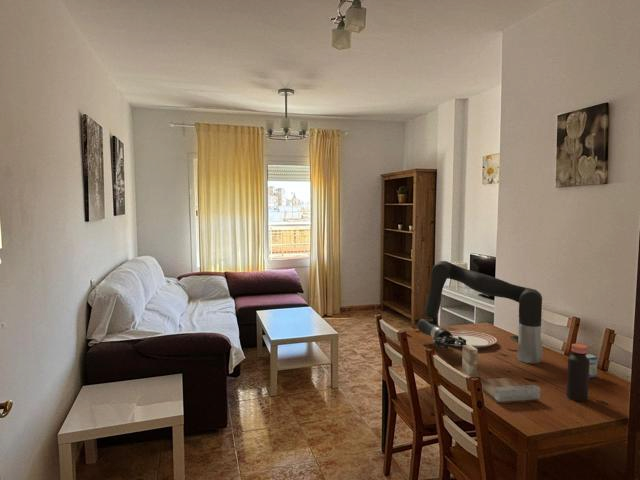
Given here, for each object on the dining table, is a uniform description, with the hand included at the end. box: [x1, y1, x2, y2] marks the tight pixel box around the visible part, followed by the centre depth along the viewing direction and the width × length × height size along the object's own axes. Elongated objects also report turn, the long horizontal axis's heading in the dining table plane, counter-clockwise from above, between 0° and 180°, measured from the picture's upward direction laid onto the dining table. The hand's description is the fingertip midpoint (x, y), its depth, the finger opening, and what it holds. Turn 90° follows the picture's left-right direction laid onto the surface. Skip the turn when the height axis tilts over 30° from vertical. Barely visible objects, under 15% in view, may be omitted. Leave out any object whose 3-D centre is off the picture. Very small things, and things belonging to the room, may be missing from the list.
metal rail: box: [494, 384, 541, 402], centre depth 149 cm, size 16×3×4 cm, turn 98°
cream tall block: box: [461, 345, 479, 379], centre depth 174 cm, size 4×6×12 cm, turn 8°
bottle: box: [565, 343, 590, 403], centre depth 152 cm, size 7×7×20 cm
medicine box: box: [586, 353, 598, 379], centre depth 173 cm, size 8×4×9 cm, turn 106°
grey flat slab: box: [480, 377, 539, 405], centre depth 158 cm, size 16×18×1 cm
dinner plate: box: [449, 330, 498, 349], centre depth 217 cm, size 27×27×3 cm
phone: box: [509, 335, 518, 343], centre depth 218 cm, size 8×1×15 cm
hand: (456, 346), depth 185 cm, fingers open, 8 cm apart
